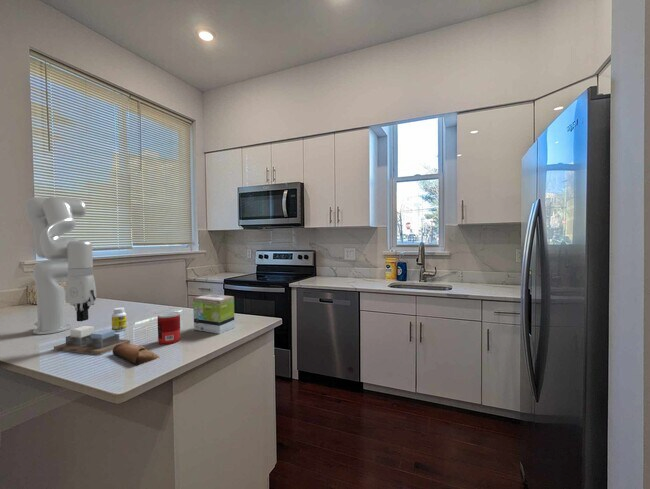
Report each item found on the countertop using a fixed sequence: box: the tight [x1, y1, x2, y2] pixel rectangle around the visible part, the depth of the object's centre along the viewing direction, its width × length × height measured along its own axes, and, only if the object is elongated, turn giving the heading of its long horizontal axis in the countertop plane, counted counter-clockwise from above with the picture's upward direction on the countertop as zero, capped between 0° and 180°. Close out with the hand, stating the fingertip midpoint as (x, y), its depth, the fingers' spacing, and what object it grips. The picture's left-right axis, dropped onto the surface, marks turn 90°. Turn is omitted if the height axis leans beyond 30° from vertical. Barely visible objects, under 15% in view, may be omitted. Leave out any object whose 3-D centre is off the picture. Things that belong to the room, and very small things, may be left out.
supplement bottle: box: [111, 307, 127, 333], centre depth 136 cm, size 5×5×10 cm
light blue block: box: [91, 329, 116, 340], centre depth 114 cm, size 5×5×4 cm
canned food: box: [157, 311, 181, 346], centre depth 120 cm, size 8×8×11 cm
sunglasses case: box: [112, 343, 160, 366], centre depth 105 cm, size 18×7×7 cm
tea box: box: [192, 293, 235, 335], centre depth 135 cm, size 15×10×15 cm
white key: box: [69, 325, 96, 338], centre depth 116 cm, size 5×5×4 cm
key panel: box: [53, 333, 131, 356], centre depth 115 cm, size 22×12×4 cm, turn 76°
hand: (82, 320), depth 116 cm, fingers closed
